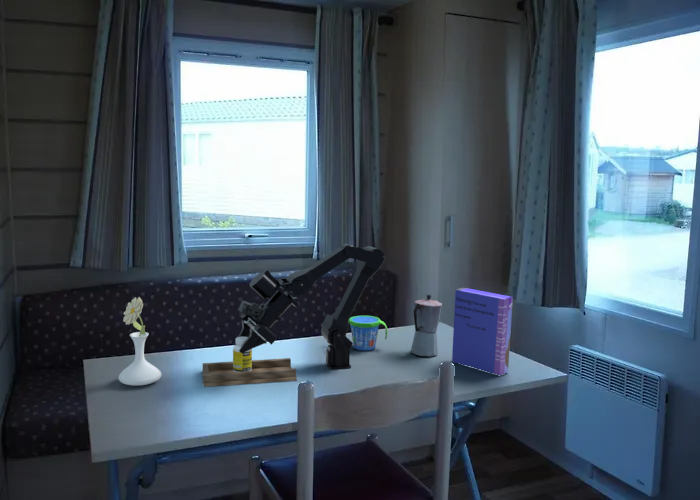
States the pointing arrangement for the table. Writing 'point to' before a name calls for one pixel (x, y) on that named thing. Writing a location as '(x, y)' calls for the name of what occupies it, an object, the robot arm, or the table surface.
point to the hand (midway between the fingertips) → (237, 349)
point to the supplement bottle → (241, 357)
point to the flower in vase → (138, 350)
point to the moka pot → (426, 327)
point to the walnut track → (248, 373)
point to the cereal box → (482, 330)
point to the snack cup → (365, 331)
